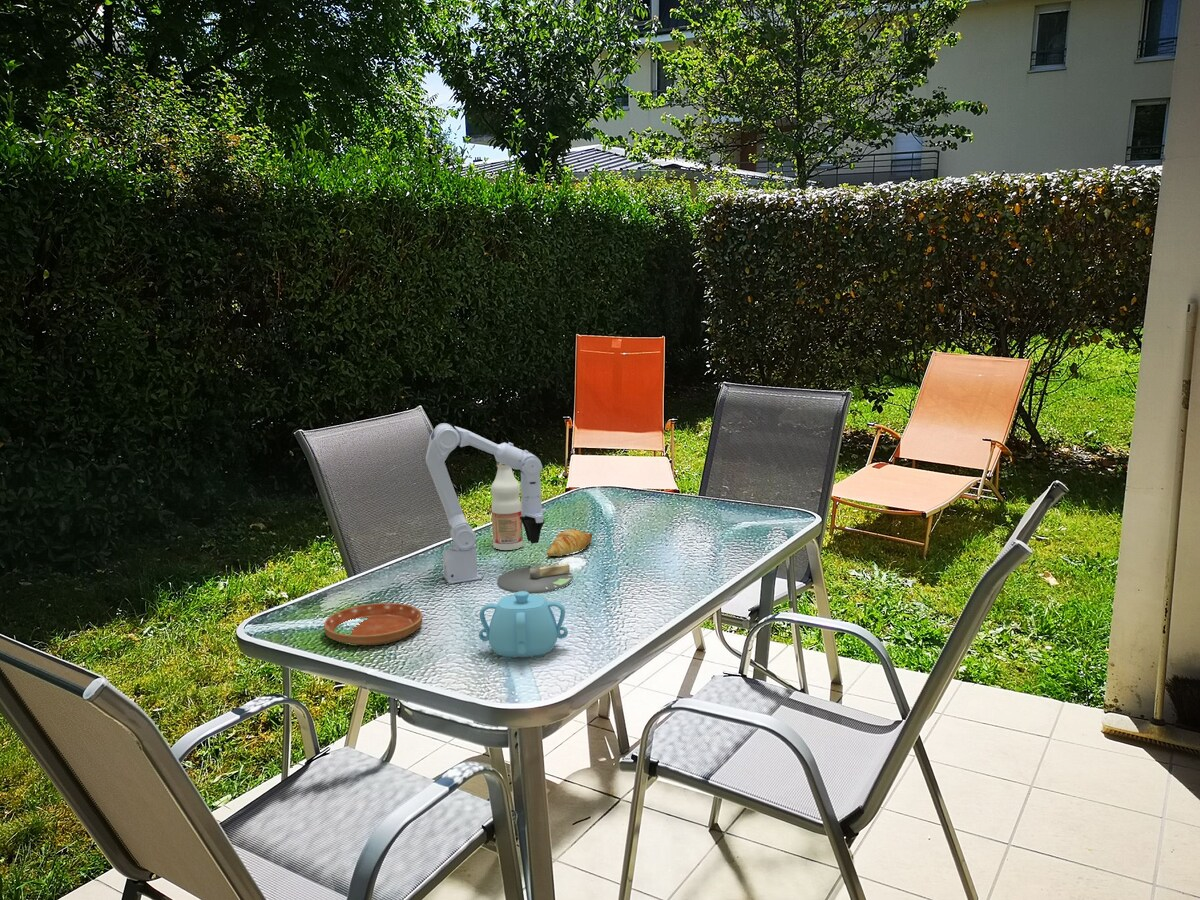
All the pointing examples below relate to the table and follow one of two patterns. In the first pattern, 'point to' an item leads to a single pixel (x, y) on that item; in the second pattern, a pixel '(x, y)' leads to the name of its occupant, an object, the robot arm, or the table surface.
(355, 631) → the saucer
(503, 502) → the fruit juice
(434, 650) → the table surface
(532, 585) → the dial
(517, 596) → the decorative pot
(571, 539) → the croissant
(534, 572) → the pointer
